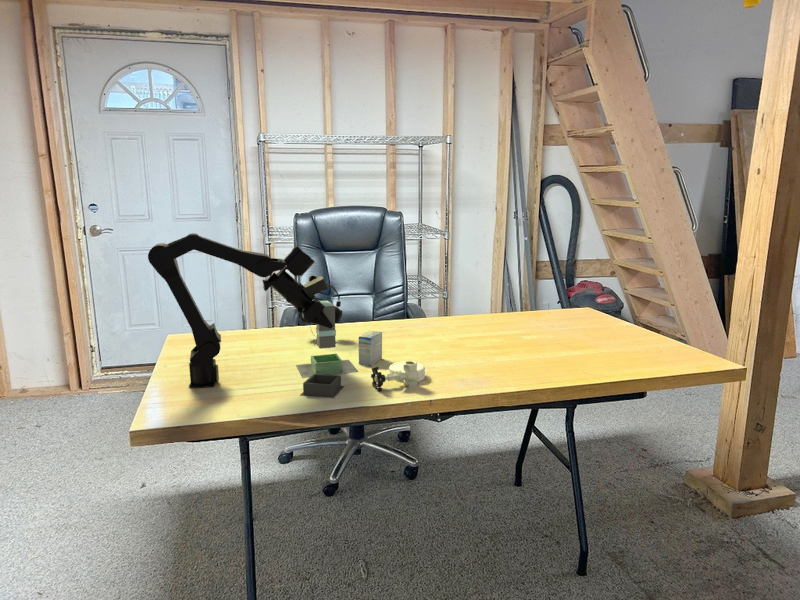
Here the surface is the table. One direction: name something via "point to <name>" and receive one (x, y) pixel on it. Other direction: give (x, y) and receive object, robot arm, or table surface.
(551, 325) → the table surface
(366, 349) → the medicine box
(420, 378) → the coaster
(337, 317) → the headphones
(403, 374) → the valve
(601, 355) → the table surface
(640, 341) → the table surface
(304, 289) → the robot arm
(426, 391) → the table surface
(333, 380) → the box
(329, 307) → the plug
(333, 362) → the port
